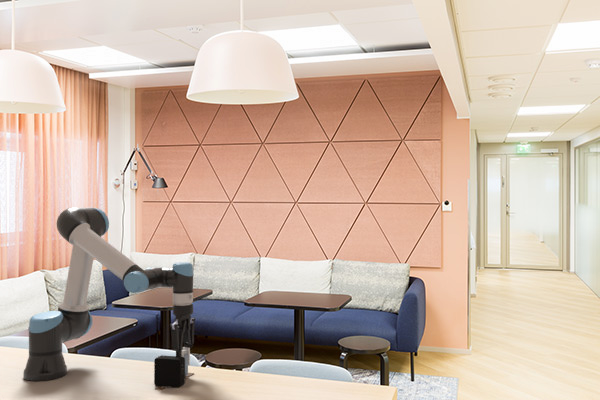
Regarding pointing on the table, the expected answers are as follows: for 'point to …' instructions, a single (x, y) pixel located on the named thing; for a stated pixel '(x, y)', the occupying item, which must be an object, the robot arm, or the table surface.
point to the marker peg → (186, 361)
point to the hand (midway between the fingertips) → (183, 366)
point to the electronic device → (169, 371)
